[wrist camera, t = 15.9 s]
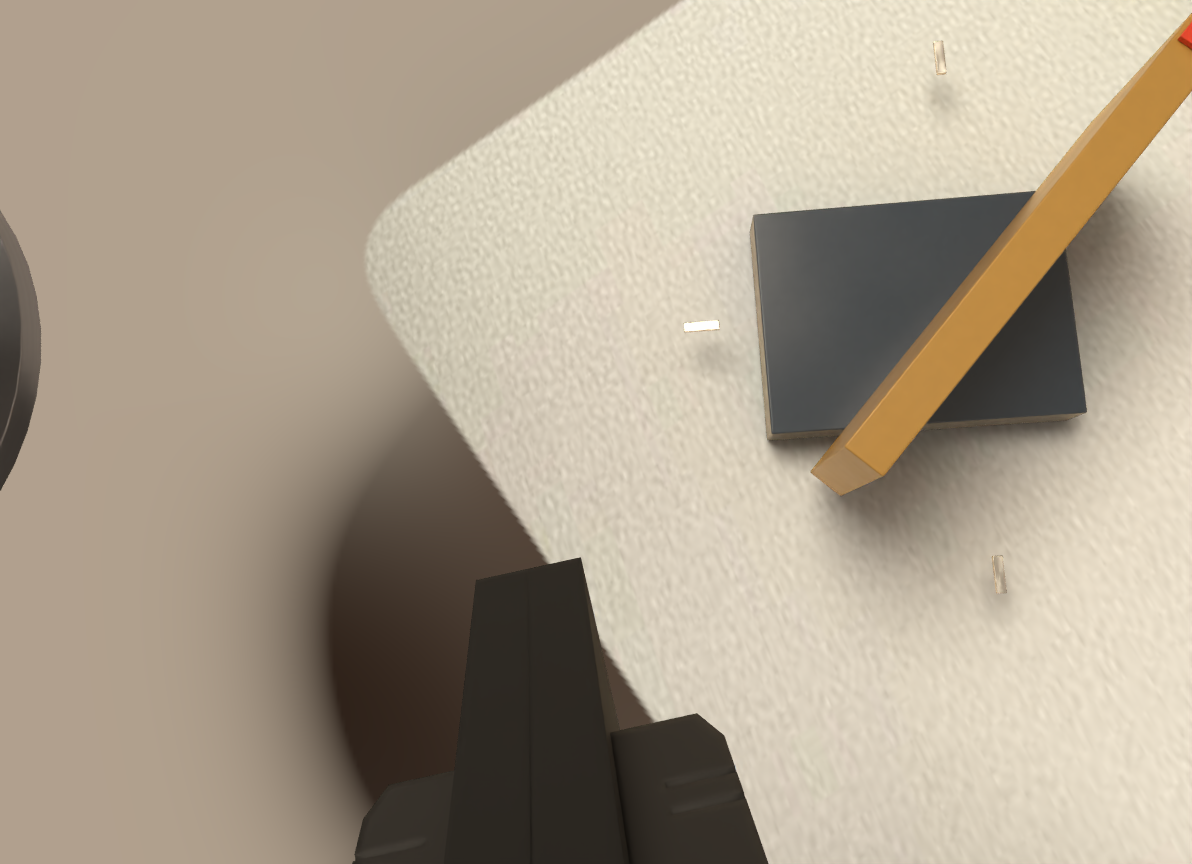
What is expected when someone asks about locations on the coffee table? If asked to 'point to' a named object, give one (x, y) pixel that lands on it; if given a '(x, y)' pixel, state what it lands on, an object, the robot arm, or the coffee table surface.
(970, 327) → the orange slab
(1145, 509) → the coffee table surface
